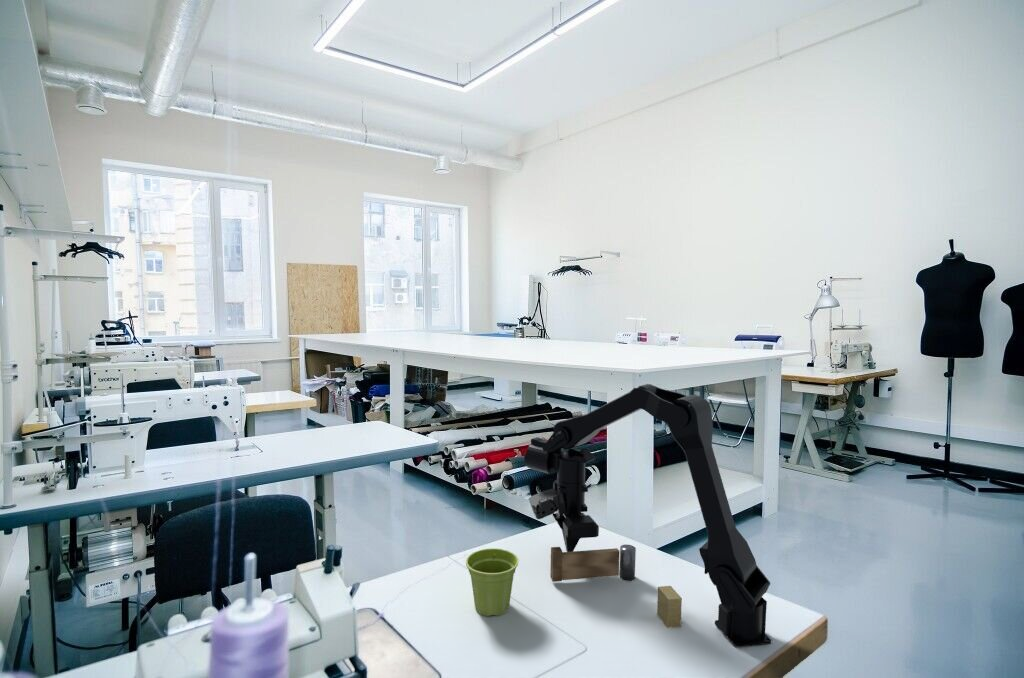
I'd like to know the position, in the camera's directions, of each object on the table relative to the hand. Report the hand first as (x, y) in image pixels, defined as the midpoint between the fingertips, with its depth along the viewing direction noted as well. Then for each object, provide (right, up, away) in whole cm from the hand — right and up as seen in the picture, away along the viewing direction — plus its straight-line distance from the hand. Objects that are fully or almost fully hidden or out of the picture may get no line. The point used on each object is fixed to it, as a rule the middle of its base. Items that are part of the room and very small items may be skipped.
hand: (569, 552), depth 110 cm
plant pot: (-16, -4, -15) cm, 22 cm away
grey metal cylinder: (+11, -3, -5) cm, 12 cm away
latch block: (+15, -4, -19) cm, 24 cm away
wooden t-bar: (+2, -2, -6) cm, 7 cm away
